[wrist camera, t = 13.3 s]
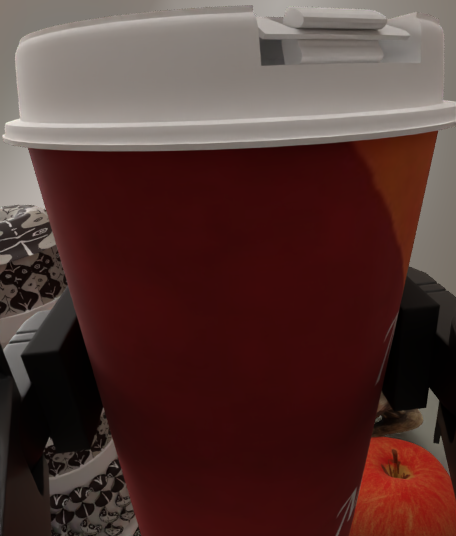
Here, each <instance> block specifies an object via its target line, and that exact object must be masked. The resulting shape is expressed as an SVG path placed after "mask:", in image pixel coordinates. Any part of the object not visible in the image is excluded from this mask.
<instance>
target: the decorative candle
mask: <svg viewBox="0 0 456 536" xmlns="http://www.w3.org/2000/svg"><path fill="white" fill-rule="evenodd" d="M67 285H68V284H67V280H66V277H65V273H64V270H63V266H62V263H61V260H60V256H59V253H58V249H57V246H56V242H55V239H54V235H53V232H52V229H51V225H50V222H49V218H48V215H47V211H46V210H45V209H42V208H39V207H37V206H32V205H14V206H4V207H0V344H1V346H2V349H4V348H5V347H6V345H7V344H9V341H10V340H11V339H12V337H13V336H14V335H16V332H17V331H18V329H19V328H20V327H21V325H22V324H23V323H24V322H25V321H26V320H27V319H29V318H30V317H32V316H33V315H34V314H36V313H37V312H39V311H45V310H51V309H52V308H53V306H54V305H55V303H56V302H57V300H58V299H59V297H60V296H61V294H62V293H63V291H64V290H65V288H66V287H67ZM43 454H44V456H45V459H46V461H47V464H48V467H49V489H50V512H51V535H52V536H133V534H134V533H135V531H136V529H137V528H138V523H137V520H136V516H135V513H134V510H133V506H132V503H131V500H130V496H129V493H128V489H127V486H126V483H125V479H124V476H123V472H122V469H121V466H120V462H119V459H118V455H117V452H116V449H115V445H114V442H113V439H112V435H111V432H110V428H109V425H108V421H107V418H106V414H105V411H104V408H103V410H102V413H101V417H100V420H99V423H98V426H97V430H96V433H95V436H94V440H93V443H92V446H91V450H84V451H76V452H68V453H60V454H57V452H56V450H55V447H54V444H53V441H52V439H51V436H50V437H49V439H48V442H47V444H46V446H45V449H44V451H43Z"/></svg>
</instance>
